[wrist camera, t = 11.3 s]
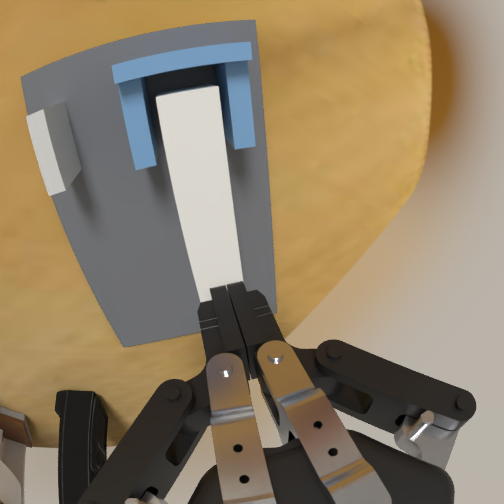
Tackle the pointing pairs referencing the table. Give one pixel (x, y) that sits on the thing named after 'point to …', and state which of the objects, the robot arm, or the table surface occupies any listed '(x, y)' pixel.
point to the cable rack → (149, 168)
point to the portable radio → (79, 442)
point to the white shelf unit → (13, 455)
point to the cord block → (201, 183)
